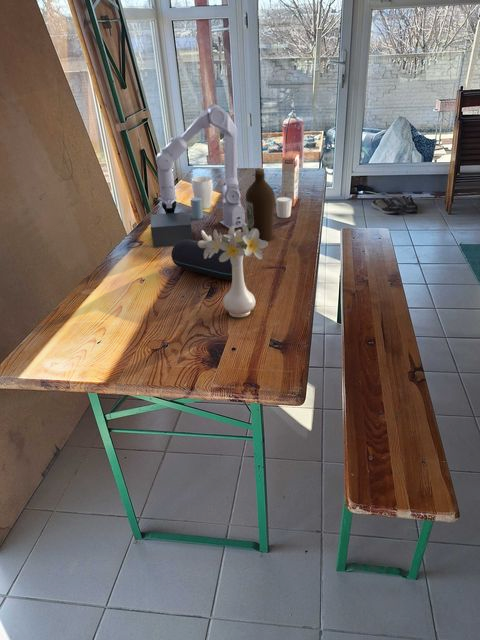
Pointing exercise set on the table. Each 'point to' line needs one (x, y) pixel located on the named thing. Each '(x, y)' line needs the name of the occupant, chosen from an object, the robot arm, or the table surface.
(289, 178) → the cracker box
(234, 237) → the flower vase
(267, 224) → the olive oil
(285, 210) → the shot glass
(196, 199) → the jug
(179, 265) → the portable speaker
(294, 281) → the table surface
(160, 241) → the cabinet
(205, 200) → the cup
